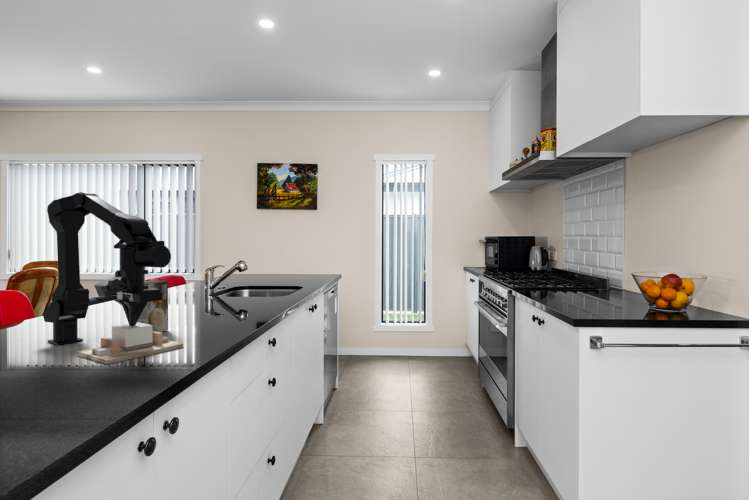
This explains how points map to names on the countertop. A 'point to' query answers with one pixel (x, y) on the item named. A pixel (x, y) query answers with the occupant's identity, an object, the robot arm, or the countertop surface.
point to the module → (133, 335)
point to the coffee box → (156, 308)
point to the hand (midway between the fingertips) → (132, 325)
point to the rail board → (116, 353)
